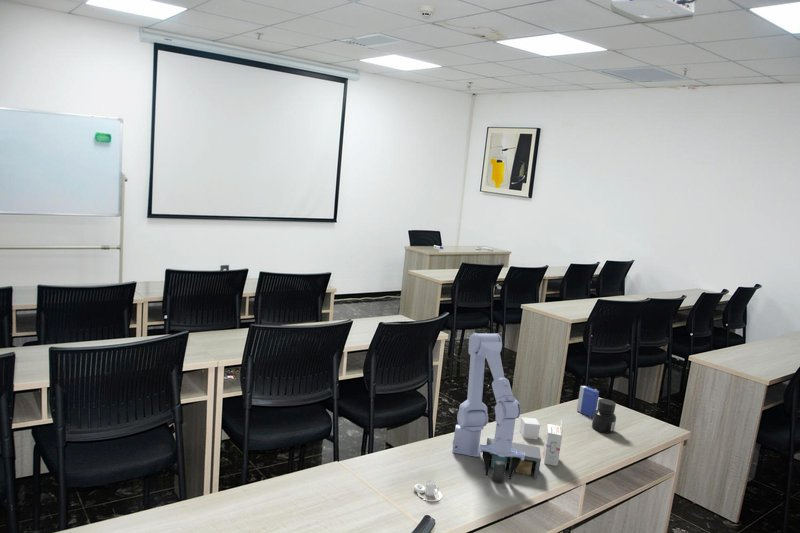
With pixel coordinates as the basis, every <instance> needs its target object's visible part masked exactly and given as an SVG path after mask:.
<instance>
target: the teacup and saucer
mask: <svg viewBox="0 0 800 533" xmlns="http://www.w3.org/2000/svg"><path fill="white" fill-rule="evenodd" d="M425 488H426V489H425ZM413 490H414V492H415V493H416V492H417V493H421V494H424V493H425V495H426V496H427V495H428V497H433V496H435V495H436V494H437V493H438V494H437V496H438V495H439V498H438V497H436V498H437V499H436V498H434V499H435V500H426V501H425V499H422V501H425V502H431V503H432V502H439V501H441V500H442V499H443V494H442V492H441V491H440V489H439V487H438V486H437V483H436V482H435V481H434V480H426V481H425V486H424V485H423V484H420V483H417V484H415V485H413ZM435 491H436V492H435Z"/></svg>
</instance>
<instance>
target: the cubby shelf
mask: <svg viewBox="0 0 800 533" xmlns="http://www.w3.org/2000/svg"><path fill="white" fill-rule="evenodd" d="M485 445H494V438H489V437H487V439H486V444H485ZM511 449H514V450H517V451H520V452H525V458H524V459H526V460H531V461H532V468H531V469H533V478H534V479H536V480H538V479H539V475H540V474H539V473H540V467H541V460H542V456H541V448H540V446H535V445H529V444H524V443H516V442H513V441H512V447H511ZM491 459H492V454H490V461H491ZM511 459H512V457H507V464H508V472H509V471H510V467H511ZM483 469H484V470H486V468H485V463H484V462H483Z"/></svg>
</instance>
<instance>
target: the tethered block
mask: <svg viewBox="0 0 800 533" xmlns="http://www.w3.org/2000/svg"><path fill="white" fill-rule="evenodd" d="M507 464H508V463H507V457H506V456H505V457H500V456H498V455H496V454H492V459H491V460H490V468H492V469H493V472H492V478H491V481H492V482H493V483H495V484H498V485H499V484H500V485H501V484H503V483H504V478H505V472H506V469H507Z"/></svg>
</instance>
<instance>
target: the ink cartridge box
mask: <svg viewBox="0 0 800 533" xmlns="http://www.w3.org/2000/svg"><path fill="white" fill-rule="evenodd" d="M546 426H547V427H546V434H545V439H544V440H545V442H544V444H543V446H544V447H543V453H542V454H543V455H542V456H543V464H544V465H549V466H553V467H558V465H559V460H560V453H561V452H560V451H561V447H562V446H561V445H562V438H563V421H562V418H560V425H556V424H550V423H547V425H546Z"/></svg>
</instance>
